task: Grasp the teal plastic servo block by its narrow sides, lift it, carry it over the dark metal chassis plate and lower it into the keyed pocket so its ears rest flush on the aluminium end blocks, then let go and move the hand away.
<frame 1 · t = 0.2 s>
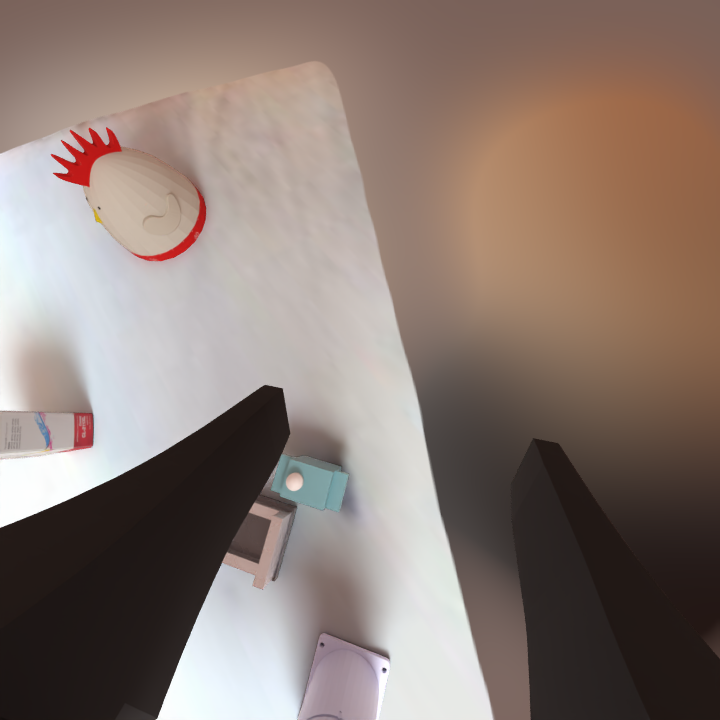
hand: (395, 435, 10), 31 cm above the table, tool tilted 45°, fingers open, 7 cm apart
beige domed piece: (165, 220, 51), on the table
ink box: (67, 434, 46), on the table
chassis plate: (253, 529, 40), on the table
servo block: (318, 477, 40), on the table
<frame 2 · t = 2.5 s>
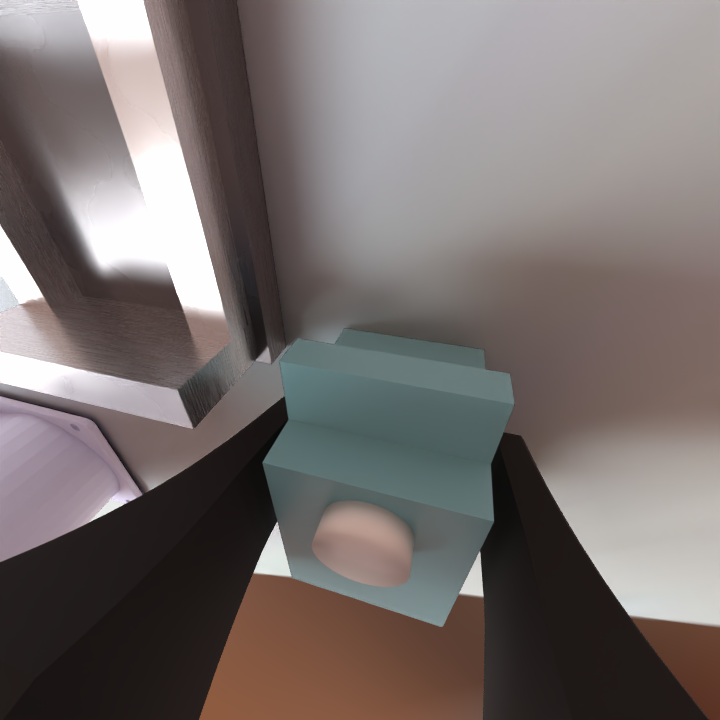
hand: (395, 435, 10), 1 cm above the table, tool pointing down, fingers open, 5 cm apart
chassis plate: (130, 185, 9), on the table
servo block: (403, 401, 11), on the table
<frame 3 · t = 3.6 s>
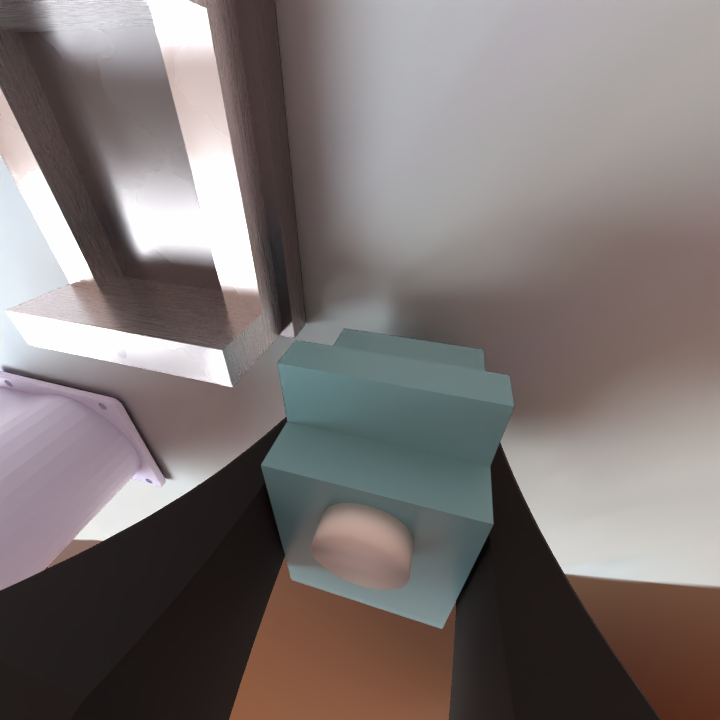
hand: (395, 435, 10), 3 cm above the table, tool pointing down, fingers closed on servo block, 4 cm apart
chassis plate: (172, 177, 10), on the table
servo block: (403, 402, 11), point 1 cm above the table, touching gripper
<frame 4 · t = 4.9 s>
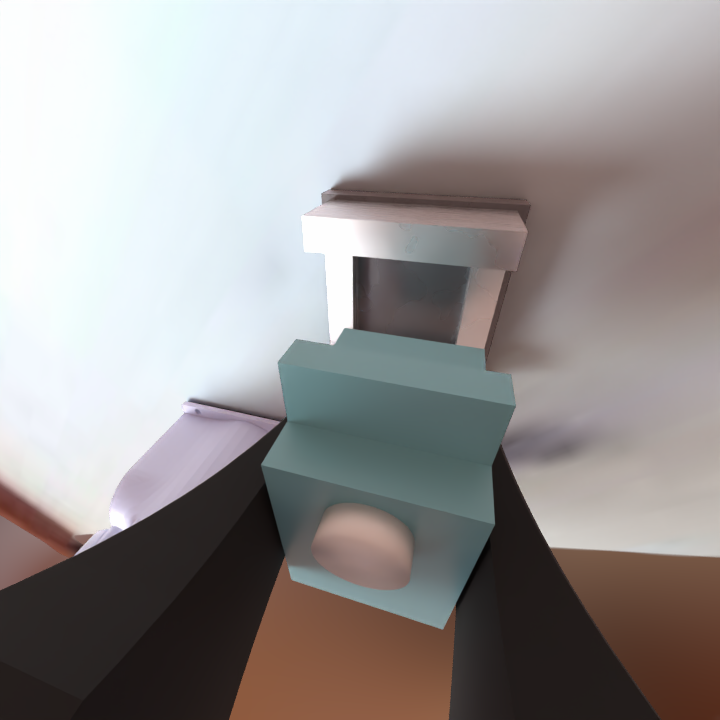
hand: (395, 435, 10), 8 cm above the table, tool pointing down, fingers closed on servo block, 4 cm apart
chassis plate: (411, 295, 16), on the table
servo block: (403, 402, 11), point 7 cm above the table, touching gripper
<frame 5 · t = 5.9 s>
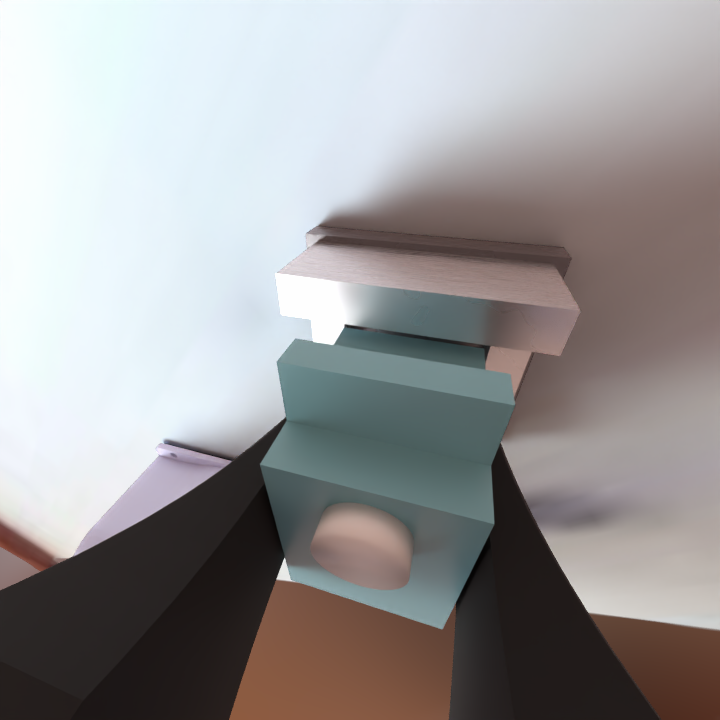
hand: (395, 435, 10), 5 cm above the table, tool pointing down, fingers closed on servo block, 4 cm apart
chassis plate: (415, 349, 13), on the table
servo block: (403, 401, 11), point 3 cm above the table, touching gripper
when the fingers open (3 cm above the table, at t = 6.8 s): servo block stays where it is, resting on chassis plate.
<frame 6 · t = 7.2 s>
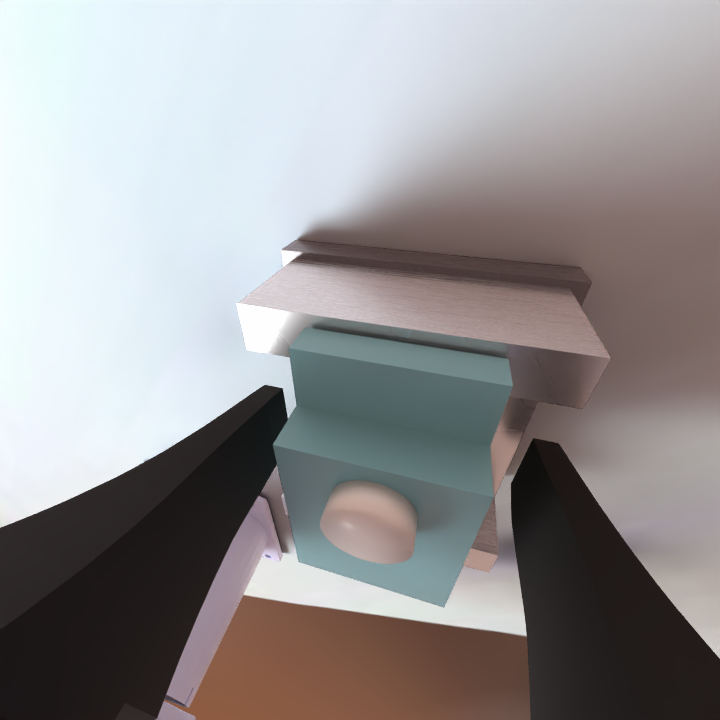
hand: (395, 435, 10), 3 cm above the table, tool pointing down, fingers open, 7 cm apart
chassis plate: (409, 375, 12), on the table
servo block: (405, 392, 11), point 1 cm above the table, touching chassis plate
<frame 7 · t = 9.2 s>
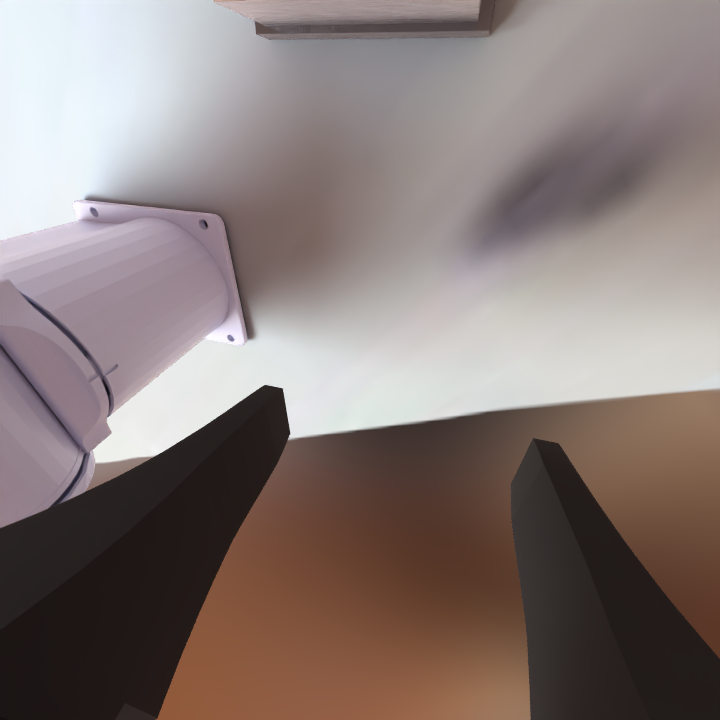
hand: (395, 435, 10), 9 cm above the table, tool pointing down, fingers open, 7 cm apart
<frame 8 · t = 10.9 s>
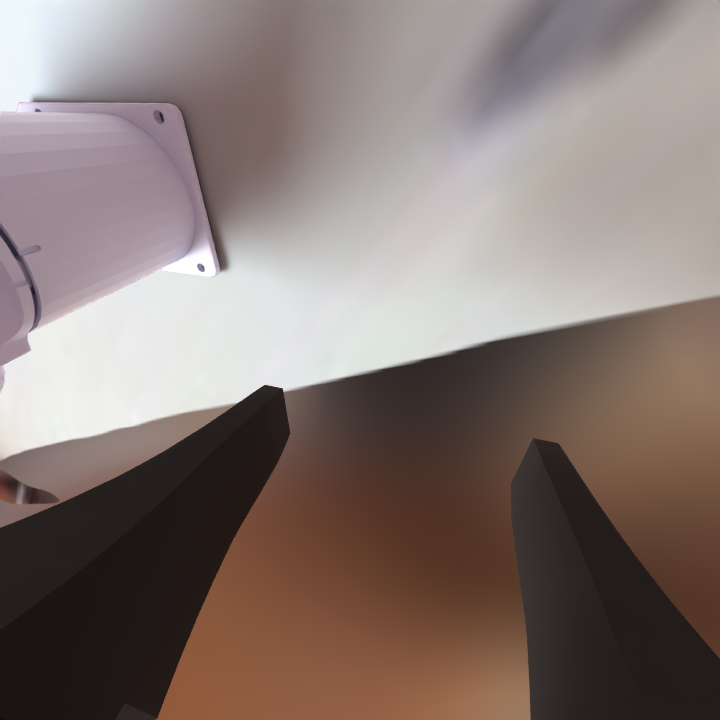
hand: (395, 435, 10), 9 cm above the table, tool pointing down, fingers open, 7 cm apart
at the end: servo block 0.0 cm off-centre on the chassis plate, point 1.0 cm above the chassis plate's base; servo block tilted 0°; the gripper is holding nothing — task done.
